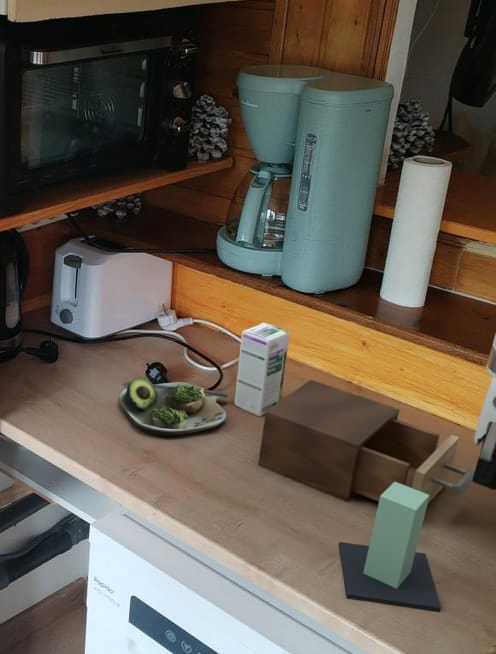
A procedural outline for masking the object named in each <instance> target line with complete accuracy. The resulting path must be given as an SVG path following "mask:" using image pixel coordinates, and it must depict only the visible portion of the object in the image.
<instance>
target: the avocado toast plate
mask: <svg viewBox="0 0 496 654" xmlns="http://www.w3.org/2000/svg"><path fill="white" fill-rule="evenodd" d="M121 385H122V386H123V387H124V389H123V390H122V391H121V392H120V394H119V396H118V402H119V404H120V407H121V409H122V411H123V414H124V415H125V417H126V418H128V419H127V420H128V422H129V421H130V422H131V423H130V422H129V423H130V424H131V426H132V427H134V428H135V429H137V430H139V431H141V432H142V433H144V434H146V435H150V436H154V437H174V436H181V435H189V434H193V433H197V432H201V431H204V430H208V429H211V428H215V427H218V426H219V425H221V424H223V423H224V422H225V421H226V419H227V418H228V414H227V412H226V411H225V410H224V408H222V406H221V405H219V403H217V400H220V399H226V398H228V397H229V393H228V392H225V391H217V390H209V389H205V388H204V387H202V388H201V387H200V386H198V385H194V384H191V383H187V382H183V381H175V382H174V381H173V382H167V383H166V382H165V383H158V384H152V383H151V382H149V381H148V380H146V379H144V378H135V379H133V380H131V381H130V382H129V381H127V382H123V383H122V384H121Z"/></svg>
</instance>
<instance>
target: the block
mask: <svg viewBox="0 0 496 654" xmlns="http://www.w3.org/2000/svg"><path fill="white" fill-rule="evenodd" d="M429 496H430V495H428V494H425V493H423V492H420V491H418V490H415V489H412V488H410V487H407V486H405V485H402V484H399V483H397V482H394V483H393V484H392V485H391V486H390V487H389V488H388V489H387V490H386V491H385V492H384V493H383V494H382V495H381V496H380V500H379V502H378V505H377V509H376V514H375V519H374V522H373V527H372V532H371V537H370V541H369V545H368V546H369V550H368V554H367V559H366V563H365V568H364V574H366V575H368V576H370V577H372V578H374V579H377V580H379V581H381V582H383V583H385V584H388V585H390V586H392V587H394V588H396V589H397V588H398V587H399V586H400V584H401V583H402V582H403V581H404V580H405V578H406V577H407V576H408V575H409V574H410V572H411V568H412V564H413V560H414V556H415V552H417V547H418V544H419V540H420V535H421V532H422V527H423V524H424V520H425V516H426V511H427V507H428V505H429V503H428V500H429ZM427 504H428V505H427Z"/></svg>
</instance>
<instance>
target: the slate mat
mask: <svg viewBox="0 0 496 654" xmlns="http://www.w3.org/2000/svg"><path fill="white" fill-rule="evenodd" d="M338 548H339V555H340V563H341V569H342V576H343V583H344V588H345V595H347V596H346V598H347V599H351V598H355V599H354V600H358V599H359V601H365V600H368V601H367V602H371V603H372V602H373V603H379V602H381V603H380V604H385V605H386V604H388V605H392V604H393V606H399V607H400V606H401V607H406V606H408V607H407V608H413V607H414V609H422V610H427V611H435V612H441V610H442V606H441V602H440V599H439V595H438V592H437V589H436V585H435V582H434V578H433V574H432V572H431V568H430V564H429V560H428V557H427V553H424V552H417V551H416V552H415V556H414V560H413V564H412V568H411V572H410V574H409V575H408V576H407V577H406V578H405V580H404V581H403V582H402V583H401V584H400V586H399V587H398V588H397V589H396V588H394V587H392V586H390V585H388V584H385V583H383V582H381V581H379V580H377V579H374V578H372V577H370V576H368V575H366V574H364V568H365V563H366V559H367V554H368V550H369V545H366V544H359V543H351V542H344V541H339V542H338Z"/></svg>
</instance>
